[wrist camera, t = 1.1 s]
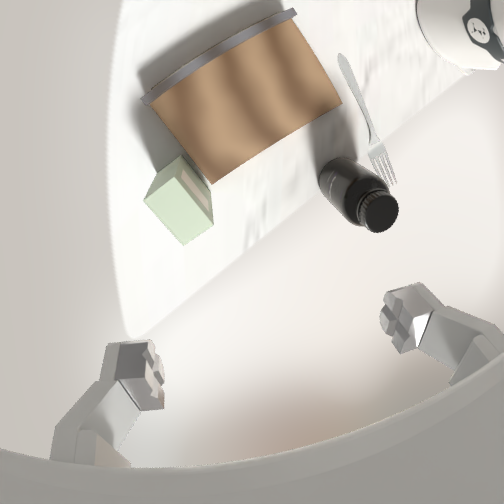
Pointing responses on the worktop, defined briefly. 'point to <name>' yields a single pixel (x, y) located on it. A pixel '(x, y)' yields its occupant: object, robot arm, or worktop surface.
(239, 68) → the shelf board
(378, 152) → the fork
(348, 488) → the robot arm
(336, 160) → the supplement bottle
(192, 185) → the carton
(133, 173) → the worktop surface
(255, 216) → the worktop surface
